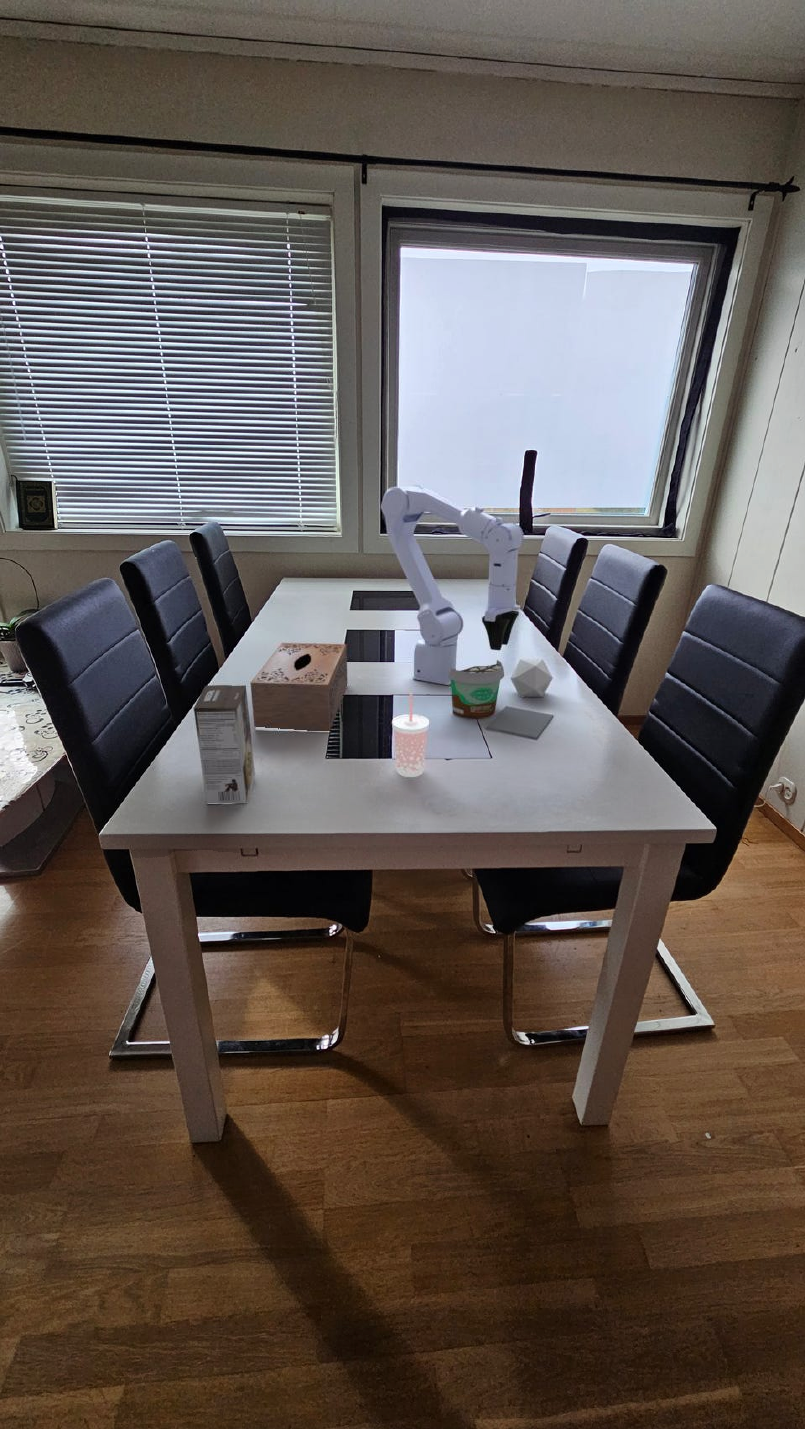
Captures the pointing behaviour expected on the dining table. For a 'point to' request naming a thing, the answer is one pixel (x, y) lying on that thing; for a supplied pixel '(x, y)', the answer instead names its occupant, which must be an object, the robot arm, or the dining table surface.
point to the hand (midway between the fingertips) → (499, 646)
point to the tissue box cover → (300, 687)
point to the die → (531, 678)
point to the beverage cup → (410, 742)
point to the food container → (475, 690)
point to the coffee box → (225, 743)
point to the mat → (520, 722)
